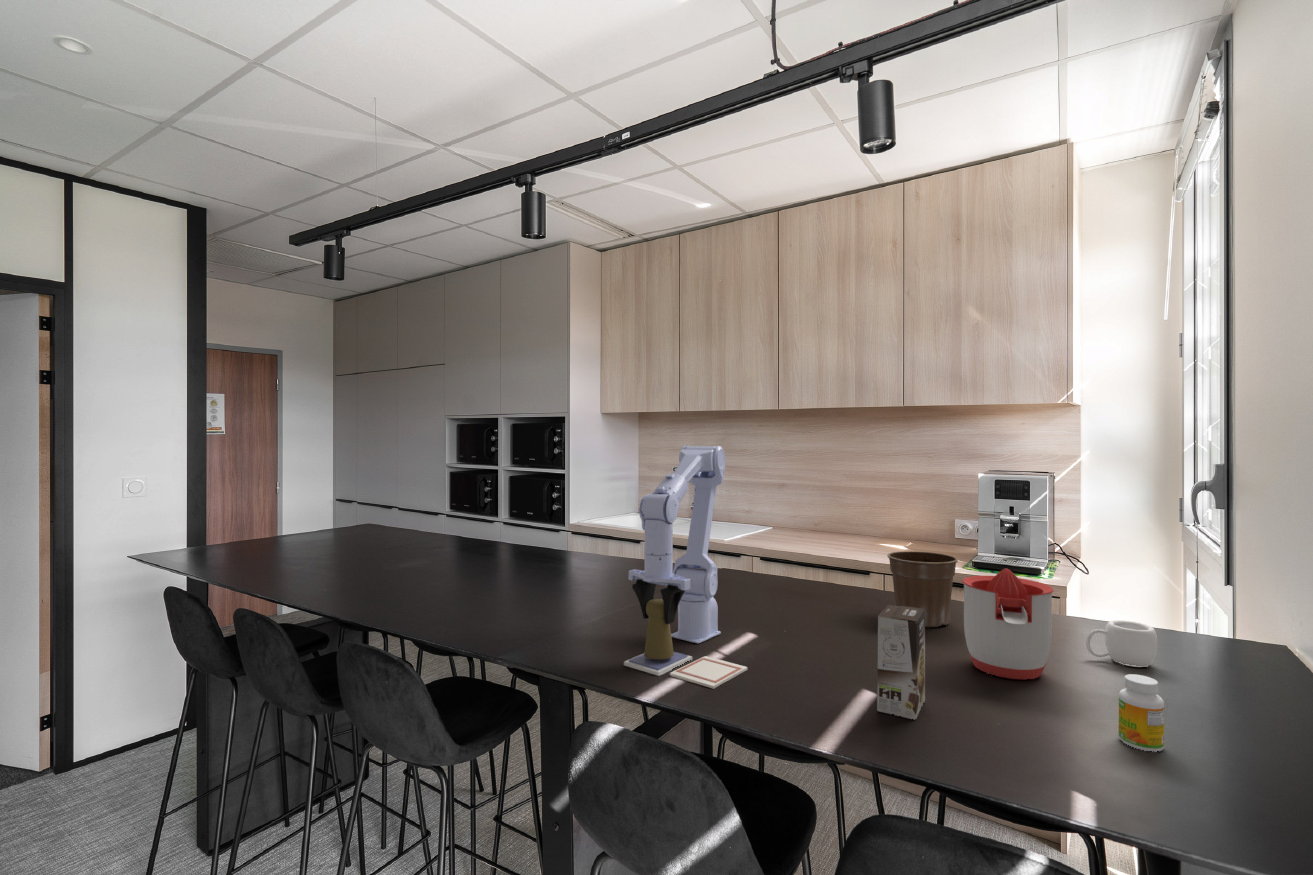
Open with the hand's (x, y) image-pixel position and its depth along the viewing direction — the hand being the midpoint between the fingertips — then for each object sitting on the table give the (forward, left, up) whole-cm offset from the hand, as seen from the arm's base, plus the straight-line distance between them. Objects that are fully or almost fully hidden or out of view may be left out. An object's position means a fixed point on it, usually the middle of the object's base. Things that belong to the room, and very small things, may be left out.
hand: (658, 620), depth 127 cm
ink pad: (0, 0, -9) cm, 9 cm away
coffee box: (-10, +45, -9) cm, 47 cm away
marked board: (-2, +11, -9) cm, 14 cm away
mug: (-59, +73, -9) cm, 94 cm away
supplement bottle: (-19, +77, -9) cm, 80 cm away
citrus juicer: (-39, +56, -9) cm, 69 cm away
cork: (0, 0, -7) cm, 7 cm away
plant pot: (-64, +33, -9) cm, 73 cm away
